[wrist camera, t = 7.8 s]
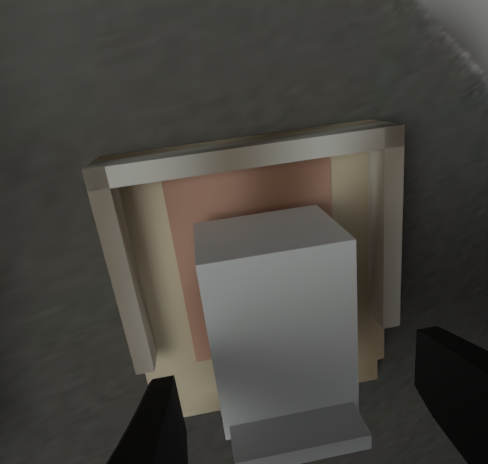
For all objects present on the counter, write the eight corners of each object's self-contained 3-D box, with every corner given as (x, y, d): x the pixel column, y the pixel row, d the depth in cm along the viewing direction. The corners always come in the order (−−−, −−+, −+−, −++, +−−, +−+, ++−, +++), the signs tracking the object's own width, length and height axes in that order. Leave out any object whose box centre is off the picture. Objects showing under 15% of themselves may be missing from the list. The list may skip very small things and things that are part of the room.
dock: (370, 119, 18) (405, 124, 15) (371, 370, 23) (397, 409, 20) (99, 156, 17) (81, 170, 14) (162, 411, 22) (158, 458, 19)
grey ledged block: (309, 198, 17) (378, 259, 11) (317, 335, 19) (376, 447, 13) (193, 215, 16) (196, 289, 10) (216, 353, 19) (230, 478, 13)
